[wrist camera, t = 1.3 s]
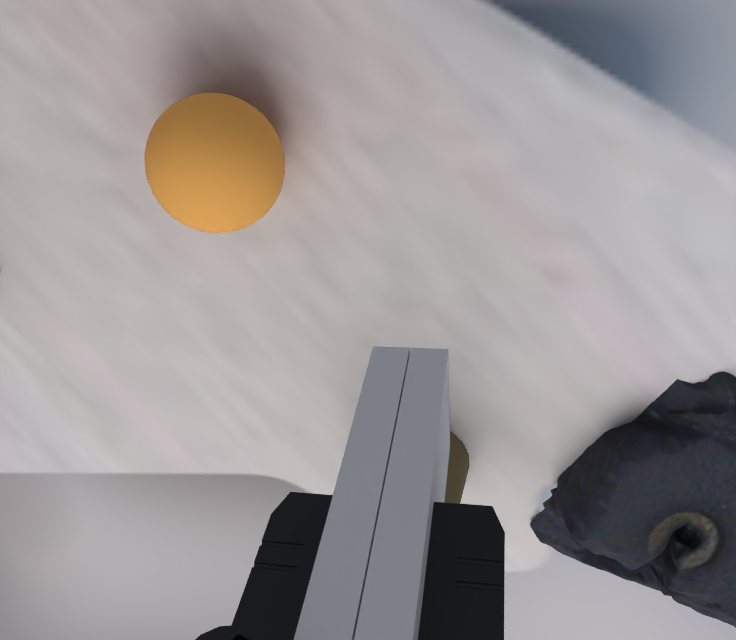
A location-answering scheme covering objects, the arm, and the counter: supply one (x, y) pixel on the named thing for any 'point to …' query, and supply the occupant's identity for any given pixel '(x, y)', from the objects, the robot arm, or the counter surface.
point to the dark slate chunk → (658, 499)
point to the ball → (214, 162)
